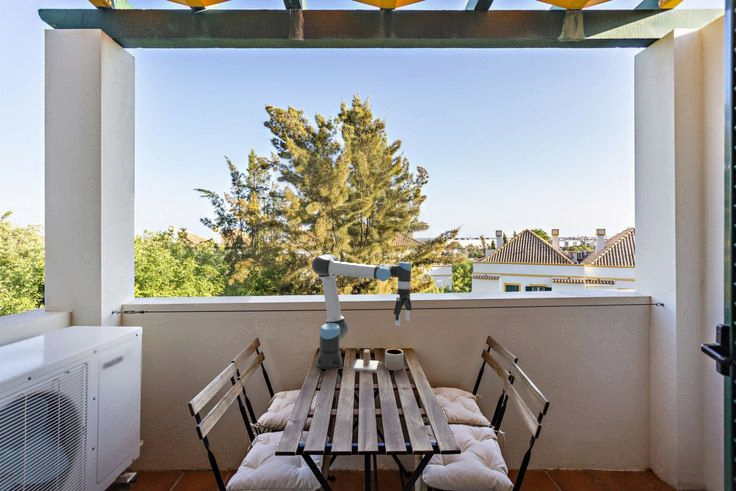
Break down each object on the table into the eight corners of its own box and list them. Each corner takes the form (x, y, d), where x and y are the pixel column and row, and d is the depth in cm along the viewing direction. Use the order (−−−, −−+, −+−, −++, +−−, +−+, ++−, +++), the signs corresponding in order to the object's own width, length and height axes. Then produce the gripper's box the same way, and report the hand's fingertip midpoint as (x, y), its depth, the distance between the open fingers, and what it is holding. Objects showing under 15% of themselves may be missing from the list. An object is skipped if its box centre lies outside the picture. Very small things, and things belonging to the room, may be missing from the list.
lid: (353, 369, 212) (353, 353, 211) (357, 361, 225) (357, 346, 224) (376, 371, 210) (376, 355, 210) (378, 362, 223) (379, 347, 222)
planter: (407, 368, 216) (407, 352, 215) (392, 372, 210) (392, 356, 209) (395, 362, 225) (395, 347, 224) (381, 366, 219) (381, 350, 218)
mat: (349, 371, 210) (349, 370, 210) (354, 360, 227) (354, 359, 227) (379, 373, 208) (379, 372, 208) (382, 362, 225) (382, 361, 225)
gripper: (400, 291, 208) (398, 329, 210) (417, 285, 230) (416, 319, 231) (388, 290, 212) (387, 326, 213) (406, 284, 233) (405, 317, 235)
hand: (402, 323), depth 222 cm, fingers open, 13 cm apart
